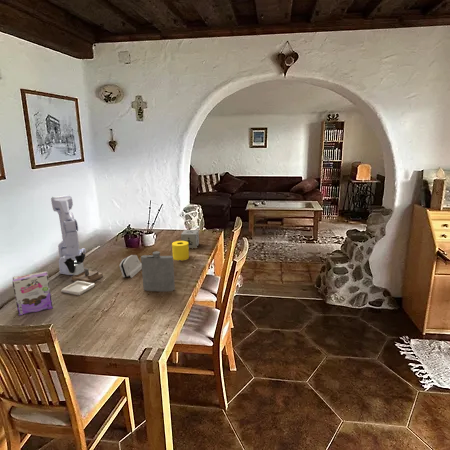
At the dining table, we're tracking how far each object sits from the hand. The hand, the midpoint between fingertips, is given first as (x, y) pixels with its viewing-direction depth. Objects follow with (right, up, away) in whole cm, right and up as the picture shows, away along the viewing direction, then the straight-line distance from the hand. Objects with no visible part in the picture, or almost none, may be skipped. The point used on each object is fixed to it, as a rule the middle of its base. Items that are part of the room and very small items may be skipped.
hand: (76, 270), depth 176 cm
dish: (0, -10, +3) cm, 10 cm away
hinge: (+22, -4, +24) cm, 32 cm away
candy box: (-11, -16, -17) cm, 25 cm away
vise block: (0, -6, +15) cm, 16 cm away
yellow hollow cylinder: (+47, +2, +44) cm, 64 cm away
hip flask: (+41, -10, +1) cm, 42 cm away
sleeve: (0, -1, 0) cm, 1 cm away
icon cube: (+51, +8, +65) cm, 83 cm away
